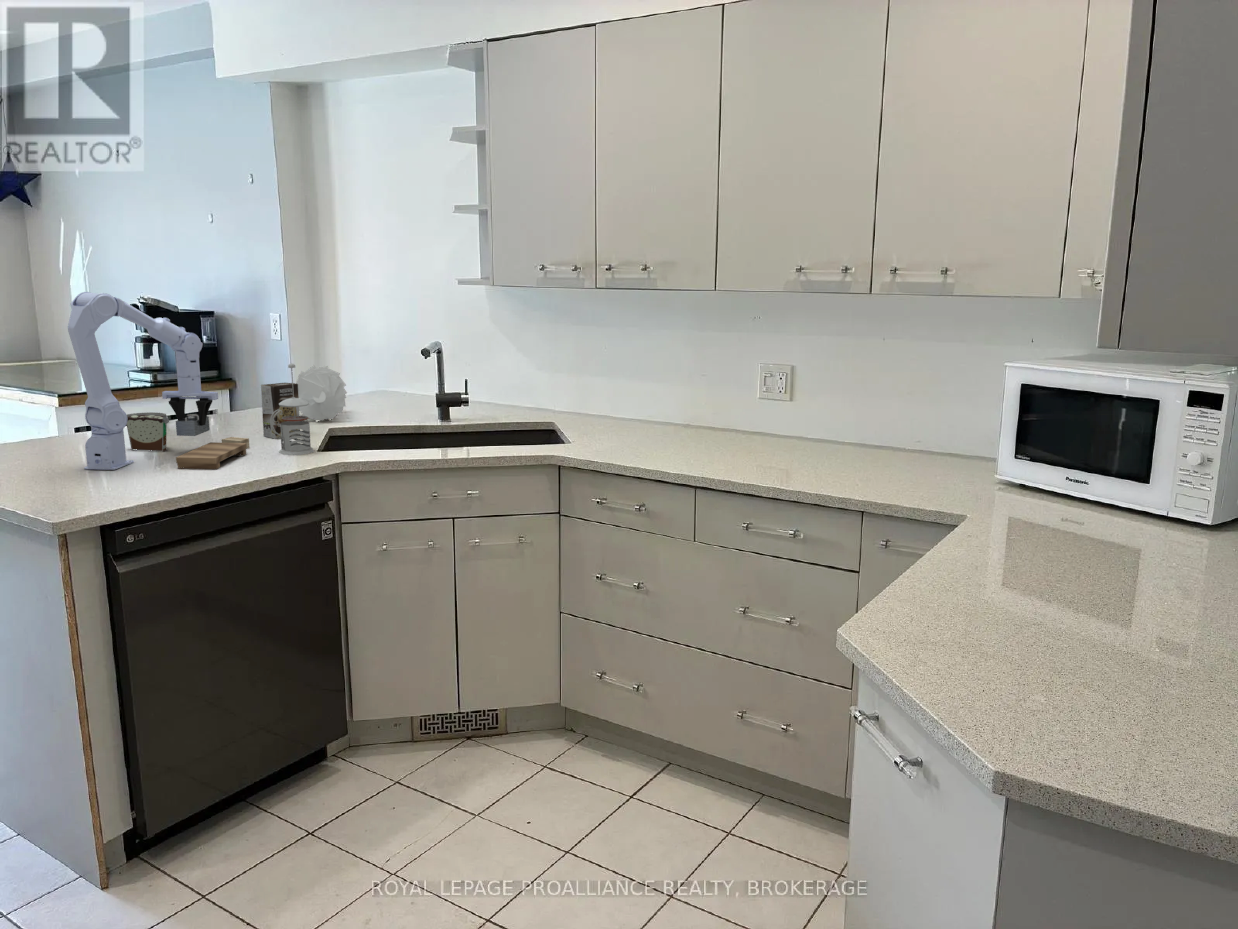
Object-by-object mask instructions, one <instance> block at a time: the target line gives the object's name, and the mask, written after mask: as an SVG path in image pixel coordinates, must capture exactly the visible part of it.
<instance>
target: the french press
mask: <svg viewBox="0 0 1238 929" xmlns="http://www.w3.org/2000/svg"><path fill="white" fill-rule="evenodd" d="M287 366H288V367H287V368H288V369H291V370H293V368H294V369H295V368H296V364H294V363H291V362H290V363H289V364H288V365H287ZM293 378H294V377H293V373H291V383H292V386H293V383H294V379H293ZM307 405H309V403H308V402H307V401H305V400H303V399H300V398H295V397H294V391H293V397H292V398H289V399H286V400H283V401H282V402H280V403H279V406H281V407H302V406H307ZM278 410H279V409H278ZM278 410H276V411H278ZM276 411H274V412H273V414H274V413H275V412H276ZM280 411H281V414H280V415H282V410H279V411H278V412H279V413H280ZM278 412H276V414H277V413H278ZM273 414H272V415H271V418H272V416H273ZM276 414H275V415H276ZM275 415H274V417H275ZM274 417H273V420H274ZM271 418H270V426H271ZM281 419H282V420H284V421H286V422H282V423H280V425H281V435H280V434H278V433H277V432H276V431H275V429H274V426H273V421H272V426H273V429H274V431H275V432H274V431H273V429H272V426H271V429H272V431H273V432H274V433H275V434H278V435H280V436H281V438H280V444H281V445H280V446H281V447H280V450H279V451H278V454H279V455H284V456H285V455H286V456H298V455H308V454H311V453H312V454H313V453H314V452H315V451H316V450H315V449H314V448H313V447H312V446H311V428H310V421H306V420H308V419H309V418H308V417H307V416H302V415H299V416H298V415H297V416H295V409H294V416H285V417H282V418H281ZM282 429H283V430H282ZM296 429H300V430H296ZM291 430H292V431H295V432H289V431H291ZM282 433H283V435H282ZM298 434H300V435H298ZM290 435H294V436H290Z"/></svg>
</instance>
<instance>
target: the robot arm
mask: <svg viewBox="0 0 1238 929" xmlns="http://www.w3.org/2000/svg"><path fill="white" fill-rule="evenodd" d="M69 306H70V308H71V309H70V310H71V311H70V315H69V319H68V324H67V332H68V335H69V338H70V339H69V340H70V342H71V345H72V348H73V351H74V352H73V353H74V355H75V359H76V362H77V364H78V369H79V371H80V374H81V378H82V382H83V386H84V388H85V392H86V394H87V398H86V400H85V402H84V405H85V413H84V419H85V422H86V423H87V425H88V426H90V428H91V430H90V432H91V434H90V437H89V438H88V439H87V440H86V441H85V446H84V448H85V458H86V465H87V466H84V467H83V469H84V470H101V471H102V470H103V471H104V470H105V471H106V470H109V471H110V470H111V471H114V470H117V469H120V468H123V467H125V466H127V465H130V464H133V463H134V462H135V460H131V459H129V460H128V459H127V452H126V445H125V441H126V440H125V432H124V429H125V427H127V425H126V424H127V420H128V419H127V413H126V412H125V411H124V410H123V408H122V406H121V405H120V402H119V400H118V399H117V397H115V395H114V394H113V393H112V389H111V386H110V383H109V379H108V376H107V371H106V370H105V365H104V363H103V358H102V355H101V352H100V349H99V345H98V342H97V338H96V335H95V333H96V331H98V329H99V328H100V327H101V325H102V324H104V323H106V322H107V321H109V320H110V319H112V318H113V317H117V318H118V317H120V318H122V319H124V320H126V321H129V322H130V323H133V324H135V325H137V326H139V327H141V328H143V329H145V330H146V331H147V333H148V336H149V337H151V338H153V339H155V340H156V341H159V342H161V343H162V344H165V345H167V346H168V347H170V348H171V350H172V351H173V352H175V353H174V354H175V364H176V376H177V387H178V388H177V389H178V390H164V391H161V393H162V394H161V395H162V399H163V400H165V399H169V401H168V405H170V407H171V409H172V411H173V412H174V414H175V416H176V418H177V421H178V420H181V419H183V418H186V412H185V411H186V400H196V401H195V404H196V408H197V411H198V416H199V424H200V426H203V425H206V418H207V416H208V413H209V411H210V408H211V405H212V404H213V401H216V400H219V392H218V391H205V390H202V384H201V380H202V379H201V369H200V352H201V351H202V348H203V346H204V344H203V342H201V338H199V336H198V335H197V334H196V333H194V332H187V331H186V328H185V327H183V326H177V325H176V324H174V323H172V322H171V319H169V318H168V317H163V318H162V317H156V318H153V317H152V316H149V315H148V314H146V313H144V312H143V311H141V310H139V309H137V308H136V307H134V306H133V305H131V304H129V303H128V302H126V301H124V300H122V299H121V298H119V297H116V296H112V295H111V294H110V293H105V292H100V293H98V292H90V291H83V292H80V293H79V294H77V295H76V296H75V297H74V298H73V300H72V301H71V302H70V305H69Z"/></svg>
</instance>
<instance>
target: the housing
mask: <svg viewBox="0 0 1238 929" xmlns="http://www.w3.org/2000/svg"><path fill="white" fill-rule="evenodd" d="M175 430H176V432H175V433H176V436H179V437H180V436H182V437H196V436H200V435H201V434H204V433H206V432H209V431H210V417H209V415H207V418H206V425H203V426H200V424H199V414H193V413H192V414H187V415H186V416H185V418H183V419H181V420H178V419H177V420H176V421H175Z"/></svg>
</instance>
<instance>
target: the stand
mask: <svg viewBox="0 0 1238 929" xmlns="http://www.w3.org/2000/svg"><path fill="white" fill-rule="evenodd" d="M247 449H248V448H247V444H246V443H222V442H217V441H216V442H208V443H206V444H203V445H202V446H198V447H197V448H195V449H191V450H190V451H187V452H185V453H183V454H181V455H178V456H176V457H175V462H176V464H177V469H187V470H188V469H189V470H191V469H195V470H196V469H199V470H217V469H220V468H221V462H222V461H224V460H226V459H228V458H231V457H232V456H242V455H244V456H245V455H247ZM219 467H220V468H219Z"/></svg>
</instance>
